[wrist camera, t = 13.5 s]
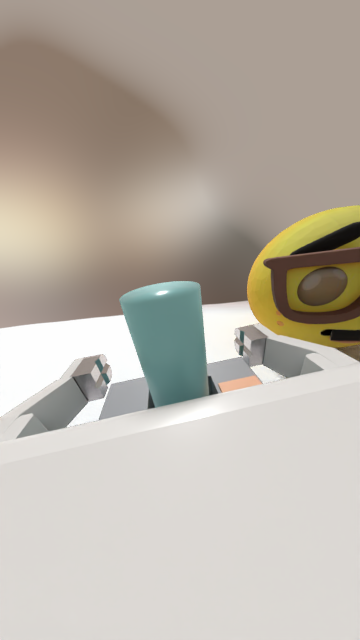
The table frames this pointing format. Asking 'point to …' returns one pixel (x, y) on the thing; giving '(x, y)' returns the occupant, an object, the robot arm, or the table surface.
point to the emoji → (311, 280)
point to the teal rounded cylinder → (169, 339)
